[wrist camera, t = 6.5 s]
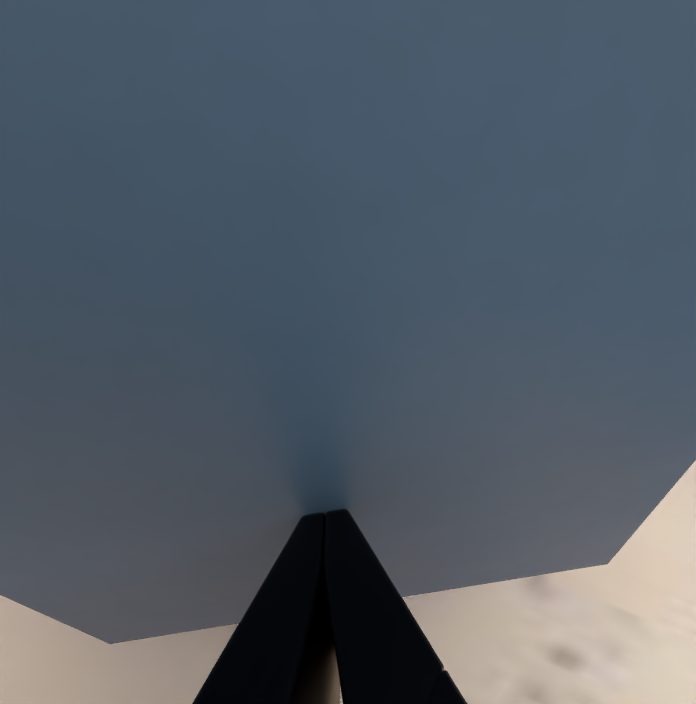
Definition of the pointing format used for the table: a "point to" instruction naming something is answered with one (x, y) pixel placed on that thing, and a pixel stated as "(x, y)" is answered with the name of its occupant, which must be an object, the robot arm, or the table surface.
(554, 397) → the lid
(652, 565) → the table surface
